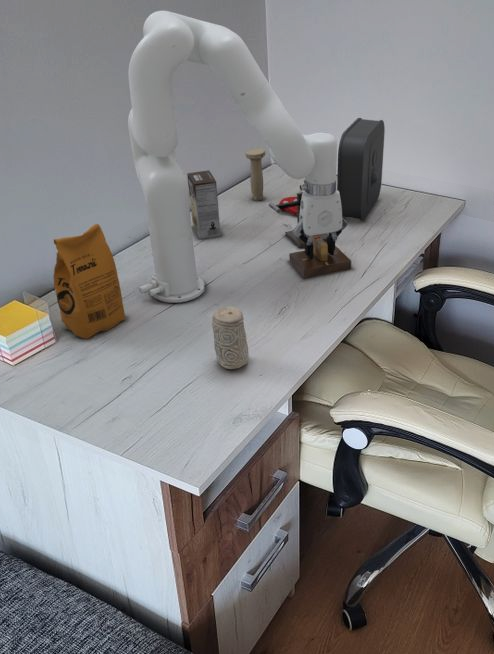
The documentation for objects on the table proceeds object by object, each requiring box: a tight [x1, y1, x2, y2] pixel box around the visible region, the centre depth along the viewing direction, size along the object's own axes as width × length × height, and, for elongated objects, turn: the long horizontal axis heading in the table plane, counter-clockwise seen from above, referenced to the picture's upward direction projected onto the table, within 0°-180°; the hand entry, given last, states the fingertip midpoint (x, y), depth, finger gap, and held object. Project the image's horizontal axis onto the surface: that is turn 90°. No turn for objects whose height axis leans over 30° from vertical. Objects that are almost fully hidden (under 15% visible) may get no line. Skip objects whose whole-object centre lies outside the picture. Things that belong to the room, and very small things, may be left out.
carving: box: [211, 306, 249, 370], centre depth 133 cm, size 6×8×12 cm
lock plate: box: [288, 245, 352, 280], centre depth 171 cm, size 13×10×3 cm
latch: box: [268, 200, 301, 214], centre depth 177 cm, size 12×5×2 cm, turn 119°
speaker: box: [336, 117, 386, 221], centre depth 196 cm, size 25×9×25 cm, turn 162°
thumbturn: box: [313, 235, 328, 262], centre depth 169 cm, size 6×2×5 cm, turn 24°
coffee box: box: [186, 169, 221, 240], centre depth 184 cm, size 9×6×16 cm
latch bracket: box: [284, 191, 329, 249], centre depth 182 cm, size 10×9×13 cm
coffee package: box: [52, 223, 126, 340], centre depth 142 cm, size 10×12×22 cm
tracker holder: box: [278, 190, 302, 216], centre depth 202 cm, size 12×4×10 cm
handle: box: [245, 147, 266, 201], centre depth 205 cm, size 5×6×15 cm
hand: (320, 254), depth 170 cm, fingers open, 5 cm apart
